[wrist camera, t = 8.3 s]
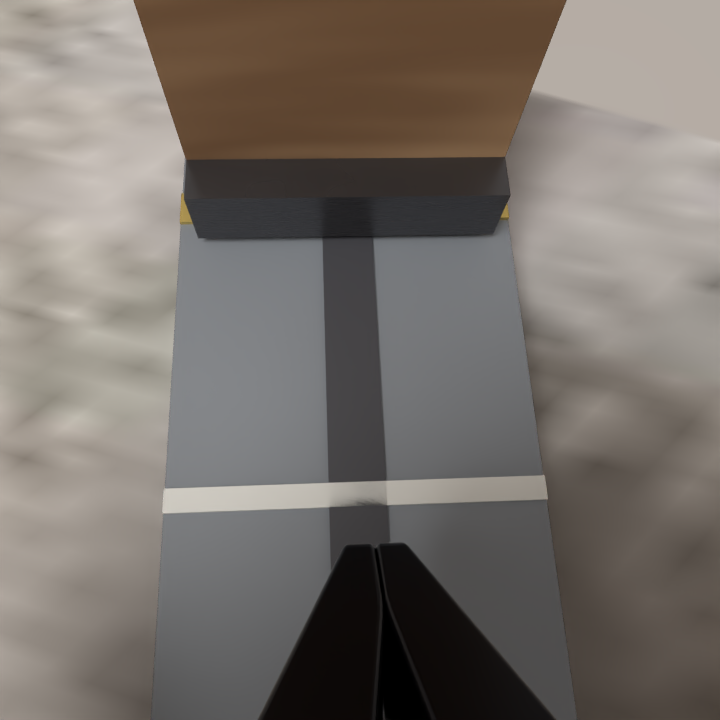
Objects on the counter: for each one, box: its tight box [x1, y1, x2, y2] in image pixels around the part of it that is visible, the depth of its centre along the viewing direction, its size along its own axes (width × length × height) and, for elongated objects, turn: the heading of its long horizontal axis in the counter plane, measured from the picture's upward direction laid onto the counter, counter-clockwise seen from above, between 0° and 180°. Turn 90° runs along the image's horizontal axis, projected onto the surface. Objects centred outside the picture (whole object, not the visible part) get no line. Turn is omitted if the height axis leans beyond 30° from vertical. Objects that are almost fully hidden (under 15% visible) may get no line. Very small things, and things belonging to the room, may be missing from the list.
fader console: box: [151, 158, 577, 720], centre depth 15 cm, size 15×8×2 cm, turn 2°
